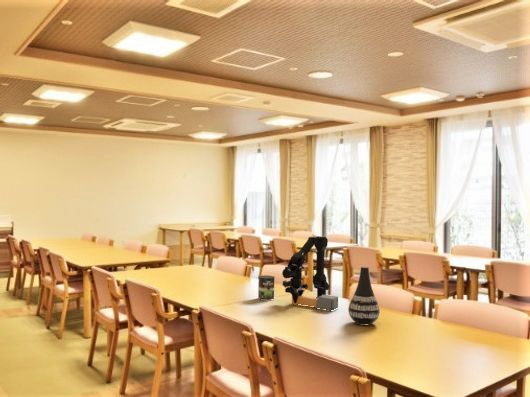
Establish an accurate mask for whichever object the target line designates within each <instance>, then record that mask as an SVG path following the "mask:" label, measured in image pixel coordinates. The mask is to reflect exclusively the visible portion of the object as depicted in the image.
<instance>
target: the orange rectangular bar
mask: <svg viewBox="0 0 530 397" xmlns="http://www.w3.org/2000/svg"><path fill="white" fill-rule="evenodd" d="M316 299H317V298H315V297H311V296H304V295H302V296H298V299H297V302H296V303H294V300H293V297H292V296H291V304H292V303H293V304H301V305H308V306H314V307H316ZM293 304H292V305H293Z"/></svg>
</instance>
